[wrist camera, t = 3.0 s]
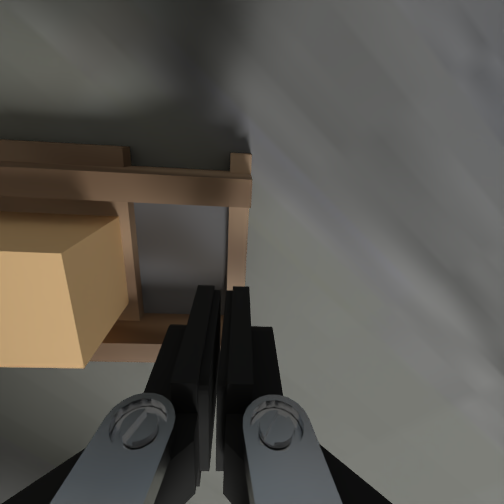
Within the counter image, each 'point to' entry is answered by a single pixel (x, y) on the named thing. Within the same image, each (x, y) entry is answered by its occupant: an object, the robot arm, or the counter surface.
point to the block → (58, 287)
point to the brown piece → (141, 227)
